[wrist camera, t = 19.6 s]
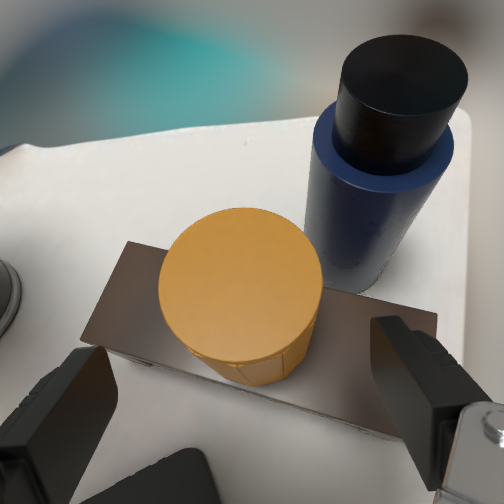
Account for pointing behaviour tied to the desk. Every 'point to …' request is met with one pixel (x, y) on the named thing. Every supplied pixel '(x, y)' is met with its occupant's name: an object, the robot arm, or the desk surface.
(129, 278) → the small brown bench
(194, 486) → the phone
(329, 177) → the flask
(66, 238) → the desk surface
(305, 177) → the desk surface
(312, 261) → the cap
